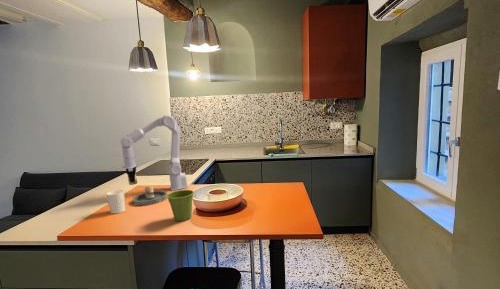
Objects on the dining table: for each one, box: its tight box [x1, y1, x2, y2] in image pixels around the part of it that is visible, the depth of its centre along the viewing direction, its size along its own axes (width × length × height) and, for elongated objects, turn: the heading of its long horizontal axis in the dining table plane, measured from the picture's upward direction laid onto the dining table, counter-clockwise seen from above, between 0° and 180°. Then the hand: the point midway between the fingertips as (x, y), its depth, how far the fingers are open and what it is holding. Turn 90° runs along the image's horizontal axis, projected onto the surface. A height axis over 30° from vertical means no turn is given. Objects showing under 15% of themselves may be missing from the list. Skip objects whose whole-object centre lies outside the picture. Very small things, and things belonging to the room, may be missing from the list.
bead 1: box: [127, 173, 138, 186], centre depth 167 cm, size 4×4×5 cm
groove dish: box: [132, 190, 168, 206], centre depth 160 cm, size 18×18×2 cm
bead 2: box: [144, 185, 155, 196], centre depth 165 cm, size 4×4×5 cm
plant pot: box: [166, 189, 195, 222], centre depth 129 cm, size 12×12×11 cm
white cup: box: [105, 189, 126, 214], centre depth 146 cm, size 8×8×10 cm
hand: (132, 181), depth 168 cm, fingers closed on bead 1, 4 cm apart
